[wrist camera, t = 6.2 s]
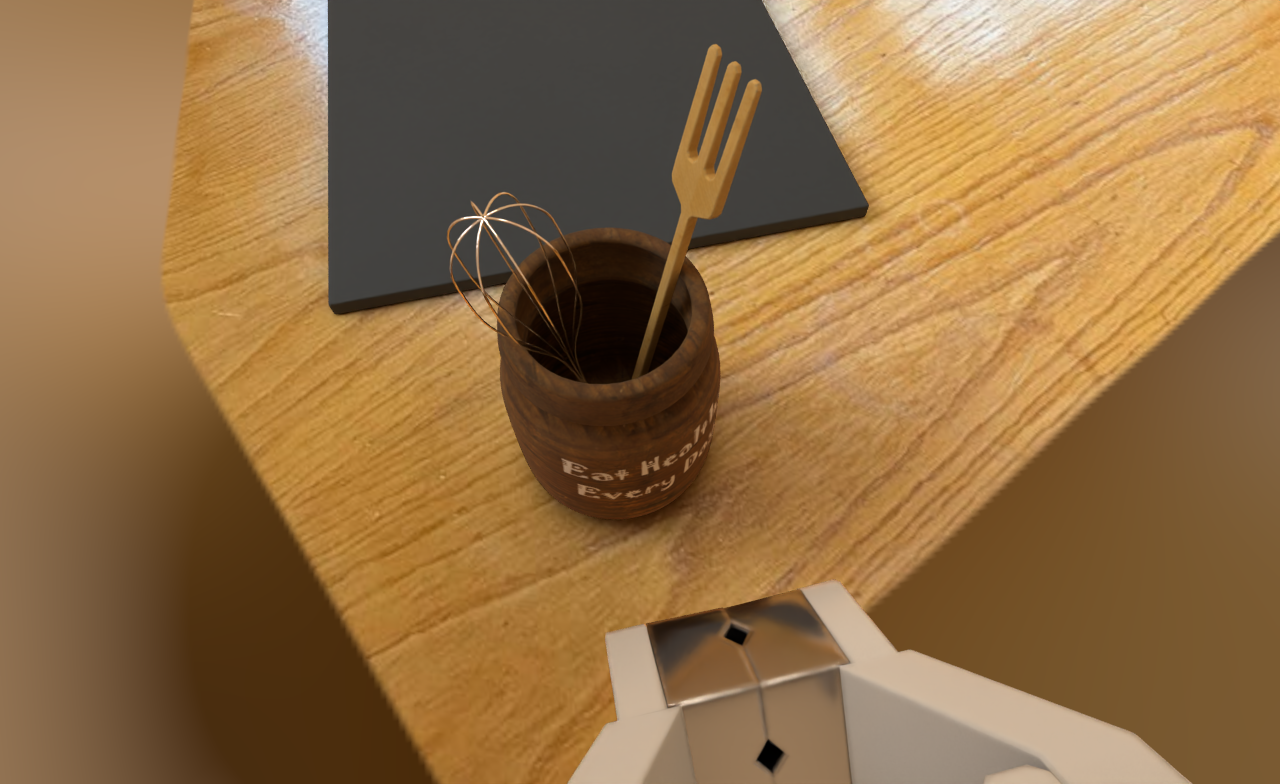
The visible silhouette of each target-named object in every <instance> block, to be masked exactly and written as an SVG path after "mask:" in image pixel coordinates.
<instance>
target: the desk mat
mask: <svg viewBox="0 0 1280 784" xmlns="http://www.w3.org/2000/svg"><path fill="white" fill-rule="evenodd" d="M714 44H717V45H718V46H719V47H720V48H721V51H722V57H721V61H720V65H719V69H718V72H717V76H716V80H715V84H714V87H713V91H712V95H711V99H710V102H709V106H708V110H707V114H706V117H705V121H704V125H703V129H702V132H701V136H700V140H699V144H698V147H697V152H698V156H699V153H700V150H701V147H702V144H703V141H704V137H705V134H706V131H707V128H708V125H709V122H710V119H711V116H712V113H713V110H714V107H715V103H716V100H717V97H718V94H719V91H720V88H721V85H722V82H723V79H724V76H725V73H726V70H727V66H728V65H729V64H730V63H731V62H734V61H736V62H737V63H739V64H740V65H741V71H742V73H741V76H740V80H739V83H738V86H737V90H736V93H735V97H734V100H733V103H732V107H731V110H730V114H729V117H728V120H727V124H726V127H725V130H724V134H723V137H722V141H721V144H720V147H719V151H718V154H717V158H716V161H715V164H714V170H715V174H716V172H717V169H718V166H719V163H720V160H721V158H722V155H723V152H724V149H725V146H726V144H727V141H728V138H729V135H730V132H731V129H732V127H733V124H734V121H735V118H736V115H737V112H738V110H739V107H740V104H741V101H742V98H743V95H744V93H745V90H746V87H747V84H748V82H750V81H751V80H754V79H756V80H758V81H759V82H760V83H761V87H762V92H761V95H760V98H759V101H758V104H757V107H756V110H755V113H754V117H753V120H752V123H751V126H750V129H749V132H748V135H747V138H746V141H745V144H744V147H743V150H742V153H741V156H740V159H739V162H738V166H737V169H736V172H735V175H734V178H733V181H732V184H731V187H730V190H729V193H728V196H727V199H726V202H725V205H724V208H723V210H722V213H721V214H720V215H719V216H718V217H716V218H713V219H710V220H708V219H702V218H697V222H696V225H695V228H694V231H693V234H692V237H691V240H690V243H689V246H688V249H690V248H696V247H701V246H707V245H712V244H717V243H723V242H728V241H734V240H739V239H744V238H750V237H755V236H761V235H766V234H771V233H777V232H782V231H788V230H793V229H798V228H804V227H809V226H814V225H820V224H825V223H831V222H836V221H841V220H847V219H852V218H858V217H863V216H865V215H866V213H867V210H868V207H869V205H868V203H867V201H866V199H865V197H864V195H863V193H862V191H861V189H860V187H859V185H858V184H857V182H856V180H855V178H854V176H853V174H852V172H851V170H850V168H849V166H848V164H847V163H846V161H845V159H844V157H843V155H842V153H841V151H840V149H839V147H838V145H837V143H836V142H835V140H834V138H833V136H832V134H831V132H830V130H829V128H828V126H827V124H826V122H825V121H824V119H823V117H822V115H821V113H820V111H819V109H818V107H817V105H816V103H815V101H814V100H813V98H812V96H811V94H810V92H809V90H808V88H807V86H806V84H805V82H804V80H803V79H802V77H801V75H800V73H799V71H798V69H797V67H796V65H795V63H794V61H793V59H792V58H791V56H790V54H789V52H788V50H787V48H786V46H785V44H784V42H783V40H782V38H781V37H780V35H779V33H778V31H777V29H776V27H775V25H774V23H773V21H772V19H771V17H770V16H769V14H768V12H767V10H766V8H765V6H764V4H763V2H762V0H328V261H329V306H330V308H331V309H332V311H333V312H334V314H340V313H345V312H351V311H356V310H361V309H367V308H372V307H378V306H383V305H388V304H394V303H399V302H405V301H410V300H415V299H421V298H426V297H431V296H437V295H442V294H448V293H453V292H458V290H457V288H456V287H455V285H454V283H453V281H452V278H451V274H450V259H451V254H452V249H451V247H450V245H449V243H448V239H447V231H448V228H449V226H450V225H451V224H452V223H453V222H454V221H456V220H457V219H460V218H464V217H470V216H477V214H476V212H475V211H474V209H473V207H472V205H471V203H470V201H473V202H474V203H475V205H476V206H477V207H478V208H479V210H480V211H481V213H482V214H484V212H485V209H486V207H487V205H488V203H489V202H490V200H491V199H492V198H493V197H494V196H495V195H496V194H498V193H500V192H507V193H510V194H512V195H513V196H515V197H516V198H517V199H518V201H519V202H520V203H521V204H531V205H534V206H537V207H539V208H541V209H543V210H545V211H546V212H548V213H549V214H550V215H551V216H552V218H553V219H554V221H555V222H556V224H557V225H558V227H559V229H560V231H561V233H562V235H563V236H564V235H567V234H570V233H573V232H577V231H581V230H586V229H593V228H622V229H629V230H635V231H639V232H643V233H646V234H649V235H652V236H654V237H657V238H659V239H661V240H663V241H665V242H667V243H668V244H670V245H672V242H673V238H674V235H675V232H676V228H677V225H678V221H679V218H680V215H681V203H680V201H679V198H678V195H677V193H676V190H675V187H674V185H673V182H672V171H673V167H674V164H675V160H676V157H677V153H678V150H679V146H680V143H681V140H682V136H683V133H684V130H685V126H686V123H687V120H688V116H689V113H690V109H691V106H692V103H693V99H694V96H695V93H696V89H697V86H698V82H699V79H700V76H701V72H702V69H703V66H704V62H705V59H706V56H707V52H708V49H709V47H710V46H712V45H714ZM511 204H518V203H517V202H516V201H515V199H513V198H512V197H511V196H509V195H505V194H504V195H500V196H498V197H496V198H495V199H494V201H493V202H492V203H491V205H490V207H489V209H488V211H487V214H488V213H490V212H492V211H494V210H496V209H498V208H500V207H504V206H507V205H511ZM522 207H523V208H524V210H525V212H526V213H527V215H528V217H529V219H530V221H531V222H532V224H533V226H534V228H535V230H536V232H537V234H538V235H540V236H541V237H542V238H544V239H545V240H546V241H547V242H550V241H552V240H554V239H556V238H559V237H561V236H560V234H559V232H558V230H557V228H556V226H555V225H554V223H553V222H552V220H551V219H550V218H549V217H548V215H546V214H545V213H544V212H542V211H540V210H538V209H535V208H532V207H527V206H522ZM479 215H480V214H479ZM480 216H481V215H480ZM488 217H494V218H500V219H504V220H508V221H511V222H514V223H517V224H519V225H522V226H524V227H526V228H528V229H530V230H532V231H533V232H534V230H533V229H532V227H531V225H530V223H529V221H528V220H527V218H526V216H525V214H524V213H523V211H522V209H521V208H520V206H514V207H509V208H506V209H503V210H500V211H498V212H496V213H493V214H492V215H490V216H488ZM477 220H479V219H466V220H462V221H459V222H457V223H456V224H454V225H453V226H452V228H451V230H450V234H449V235H450V242H451V244H452V246H453V248H454V246H455V244H456V243H457V241H458V239H459V238H460V237H461V235H462V234H463V233H464V232H465V231H466V230H467V228H469V227H470V226H471V225H472V224H473V223H474V222H476V221H477ZM486 220H487V221H488V222H489V224H490V225H491V227H492V228H493V230H494V231H495V232H496V234H497V235H498V237H499V238H500V240H501V241H502V243H503V244H504V246H505V247H506V249H507V250H508V252H509V253H510V255H511V256H512V258H513V259H514V261H515V262H516V264H517V265H518V266H519V265H520V264H521V263H522V261H523V260H524V259H526V258H527V257H528V256H529V255H530V254H531V253H533V252H534V251H535V250H537V249H538V248H540V247H541V245H540V243H539V240H538V238H537V236H535V235H534V234H532V233H530V232H528V231H526V230H524V229H522V228H520V227H518V226H515V225H512V224H509V223H506V222H502V221H497V220H490V219H486ZM480 223H481V221H480V222H479V223H478V224H476V225H475V226H474V227H473V228H471V229H470V230H469V231H468V232H467V233H466V234H465V236H464V237H463V238H462V240H461V241H460V243H459V244H458V246H457V248H456V250H455V251H456V253H457V254H458V256H459V258H460V259H461V261H462V262H463V264H464V265H465V267H466V268H467V270H468V271H469V272H470V274H471V275H472V277H473V278H474V279H475V281H476V282H477V283H478V284H479V285H480V283H479V278H478V273H477V264H476V245H477V237H478V231H479V227H480ZM484 223H485V225H486V226H487V228H488V229H489V231H490V233H491V234H492V236H493V238H494V239H495V241H496V243H497V244H498V246H499V247H500V249H501V251H502V252H503V254H504V255H505V257H506V259H507V260H508V262H509V263H510V265H511V267H512V268H513V270H514V271H515V269H516V267H515V265H514V264H513V262H512V261H511V259H510V258H509V256H508V255H507V253H506V252H505V250H504V249H503V247H502V246H501V244H500V243H499V241H498V240H497V238H496V237H495V235H494V234H493V232H492V231H491V230H490V228H489V227H488V225H487V224H486V222H485V221H484ZM540 240H541V239H540ZM541 242H542V244H543V245H545V244H546V243H545V242H544V241H542V240H541ZM479 269H480V275H481V280H482V284H483V287H485V286H491V285H496V284H502V283H507V281H508V280H509V278H510V276H511V275H512V273H513V272H512V270H511V269H510V267H509V266H508V264H507V262H506V261H505V259H504V258H503V256H502V255H501V253H500V251H499V250H498V248H497V247H496V245H495V243H494V242H493V240H492V238H491V237H490V235H489V234H488V232H487V230H486V229H485V227H484V226H482V230H481V234H480V241H479ZM452 272H453V277H454V280H455V282H456V283H457V285H458V287H459V289H460V290H461V291H464V290H469V289H475V288H479V287H478V286H477V285H476V284H475V283H474V281H473V280H472V279H471V277H470V276H469V275H468V273H467V272H466V270H465V269H464V268H463V266H462V265H461V263H460V262H459V260H458V259H457V257H456V256H455V254H454V257H453V263H452Z"/></svg>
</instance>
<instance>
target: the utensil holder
mask: <svg viewBox="0 0 1280 784" xmlns="http://www.w3.org/2000/svg"><path fill="white" fill-rule="evenodd" d="M721 57H722V51H721V48H720V47H719V46H718V45H717V44H714V45H712V46H710V47H709V49H708V52H707V56H706V59H705V62H704V66H703V69H702V72H701V76H700V79H699V82H698V86H697V89H696V93H695V96H694V99H693V103H692V106H691V109H690V113H689V116H688V120H687V123H686V126H685V130H684V133H683V136H682V140H681V143H680V146H679V150H678V153H677V157H676V160H675V164H674V167H673V171H672V182H673V185H674V187H675V190H676V193H677V195H678V198H679V201H680V203H681V215H680V218H679V221H678V225H677V228H676V232H675V235H674V238H673V242H672V245H670V244H668V243H667V242H665V241H663V240H661V239H659V238H657V237H654V236H652V235H649V234H646V233H643V232H639V231H635V230H629V229H622V228H593V229H586V230H581V231H577V232H573V233H570V234H567V235H564V236H563V235H562V233H561V231H560V229H559V227H558V225H557V224H556V222H555V221H554V219H553V218H552V216H551V215H550V214H549V213H548V212H546V211H545V210H543V209H541V208H539V207H537V206H534V205H531V204H521V203H520V202H519V201H518V199H517V198H516V197H515V196H513V195H512V194H510V193H507V192H500V193H498V194H496V195H495V196H494V197H493V198H492V199H491V200H490V202H489V203H488V205H487V207H486V209H485V212H484V214H482V213H481V211H480V210H479V208H478V207H477V206H476V205H475V203H474V202H473V201H470V203H471V205H472V207H473V209H474V211H475V212H476V214H477V216H470V217H464V218H460V219H457V220H456V221H454V222H453V223H452V224H451V225H450V226H449V228H448V231H447V239H448V243H449V245H450V247H451V249H452V254H451V259H450V274H451V278H452V281H453V283H454V285H455V287H456V288H457V290H458V291H459V293H460V294H461V296H462V297H463V299H464V300H465V302H466V303H467V304H468V306H469V307H470V309H471V310H472V311H473V312H474V314H475V315H476V316H477V317H478V318H479V319H480V320H481V321H482V322H483V323H484V324H485V325H487V326H488V327H489V328H491V329H492V330H494V331H495V332H497V333H498V345H499V351H500V355H501V363H500V381H501V389H502V394H503V399H504V403H505V407H506V410H507V413H508V416H509V419H510V422H511V424H512V427H513V430H514V432H515V435H516V437H517V440H518V442H519V445H520V447H521V450H522V452H523V454H524V457H525V459H526V461H527V463H528V465H529V467H530V469H531V471H532V472H533V474H534V475H535V477H536V478H537V480H538V481H539V482H540V484H541V485H542V486H543V487H544V489H545V490H546V491H547V492H548V493H549V494H550V495H551V496H553V497H554V498H555V499H556V500H558V501H559V502H560V503H562V504H563V505H565V506H567V507H568V508H570V509H572V510H574V511H577V512H579V513H582V514H584V515H588V516H591V517H596V518H602V519H629V518H635V517H639V516H643V515H646V514H649V513H652V512H654V511H657V510H659V509H661V508H663V507H665V506H666V505H668V504H669V503H671V502H672V501H674V500H675V499H676V498H678V497H679V496H680V495H681V494H682V493H683V492H684V491H685V490H686V489H687V488H688V487H689V486H690V485H691V483H692V482H693V481H694V479H695V478H696V477H697V475H698V473H699V472H700V470H701V468H702V466H703V464H704V462H705V459H706V457H707V454H708V451H709V447H710V444H711V440H712V435H713V429H714V423H715V417H716V411H717V404H718V397H719V387H720V360H719V353H718V348H717V344H716V340H715V337H714V321H713V314H712V308H711V303H710V299H709V294H708V291H707V288H706V285H705V283H704V281H703V279H702V277H701V275H700V273H699V272H698V270H697V269H696V268H695V266H694V265H693V264H692V263H691V261H690V260H689V259H688V258H687V257H686V253H687V249H688V246H689V243H690V240H691V237H692V234H693V231H694V228H695V225H696V222H697V218H702V219H708V220H710V219H713V218H716V217H718V216H719V215H720V214H721V213H722V210H723V208H724V205H725V202H726V199H727V196H728V193H729V190H730V187H731V184H732V181H733V178H734V175H735V172H736V169H737V166H738V162H739V159H740V156H741V153H742V150H743V147H744V144H745V141H746V138H747V135H748V132H749V129H750V126H751V123H752V120H753V117H754V113H755V110H756V107H757V104H758V101H759V98H760V95H761V92H762V87H761V83H760V82H759V81H758V80H756V79H754V80H751V81H750V82H748V84H747V87H746V90H745V93H744V95H743V98H742V101H741V104H740V107H739V110H738V112H737V115H736V118H735V121H734V124H733V127H732V129H731V132H730V135H729V138H728V141H727V144H726V146H725V149H724V152H723V155H722V158H721V160H720V163H719V166H718V169H717V172H716V174H715V170H714V164H715V161H716V158H717V154H718V151H719V147H720V144H721V141H722V137H723V134H724V130H725V127H726V124H727V120H728V117H729V114H730V110H731V107H732V103H733V100H734V97H735V93H736V90H737V86H738V83H739V80H740V76H741V73H742V71H741V65H740V64H739V63H737V62H736V61H734V62H731V63H730V64H729V65H728V66H727V70H726V73H725V76H724V79H723V82H722V85H721V88H720V91H719V94H718V97H717V100H716V103H715V107H714V110H713V113H712V116H711V119H710V122H709V125H708V128H707V131H706V134H705V137H704V141H703V144H702V147H701V150H700V153H699V156H698V152H697V147H698V144H699V140H700V136H701V132H702V129H703V125H704V121H705V117H706V114H707V110H708V106H709V102H710V99H711V95H712V91H713V87H714V84H715V80H716V76H717V72H718V69H719V65H720V61H721ZM504 194H505V195H509V196H511V197H512V198H513V199H515V201H516V202H517V203H518V204H511V205H507V206H504V207H500V208H498V209H496V210H494V211H492V212H490V213H488V214H487V211H488V209H489V207H490V205H491V203H492V202H493V201H494V199H495V198H496V197H498V196H500V195H504ZM514 206H520V208H521V209H522V211H523V213H524V214H525V216H526V218H527V220H528V221H529V223H530V225H531V227H532V229H533V230H534V232H533V231H532V230H530V229H528V228H526V227H524V226H522V225H519V224H517V223H514V222H511V221H508V220H504V219H500V218H494V217H488V216H490V215H492V214H493V213H496V212H498V211H500V210H503V209H506V208H509V207H514ZM522 206H527V207H532V208H535V209H538V210H540V211H542V212H544V213H545V214H546V215H548V217H549V218H550V219H551V220H552V222H553V223H554V225H555V226H556V228H557V230H558V232H559V234H560V236H561V237H559V238H556V239H554V240H552V241H550V242H547V241H546V240H545V239H544V238H542V237H541V236H540V235H538V234H537V232H536V230H535V228H534V226H533V224H532V222H531V221H530V219H529V217H528V215H527V213H526V212H525V210H524V208H523V207H522ZM479 214H480V215H481V216H480V215H479ZM466 219H479V220H477V221H476V222H474V223H473V224H472V225H471V226H470V227H469V228H467V230H466V231H465V232H464V233H463V234H462V235H461V237H460V238H459V239H458V241H457V243H456V244H455V246H454V248H453V246H452V244H451V242H450V235H449V234H450V230H451V228H452V226H453V225H454V224H456V223H457V222H459V221H462V220H466ZM486 219H490V220H497V221H502V222H506V223H509V224H512V225H515V226H518V227H520V228H522V229H524V230H526V231H528V232H530V233H532V234H534V235H535V236H537V238H538V240H539V243H540V245H541V247H540V248H538V249H537V250H535V251H534V252H533V253H531V254H530V255H529V256H528V257H527V258H526V259H524V260H523V261H522V263H521V264H520V265H519V266H518V265H517V264H516V262H515V261H514V259H513V258H512V256H511V255H510V253H509V252H508V250H507V249H506V247H505V246H504V244H503V243H502V241H501V240H500V238H499V237H498V235H497V234H496V232H495V231H494V230H493V228H492V227H491V225H490V224H489V222H488V221H487V220H486ZM480 221H481V223H480V227H479V231H478V237H477V245H476V264H477V273H478V278H479V283H480V285H479V284H478V283H477V282H476V281H475V279H474V278H473V277H472V275H471V274H470V272H469V271H468V270H467V268H466V267H465V265H464V264H463V262H462V261H461V259H460V258H459V256H458V254H457V253H456V251H455V250H456V248H457V246H458V244H459V243H460V241H461V240H462V238H463V237H464V236H465V234H466V233H467V232H468V231H469V230H470V229H471V228H473V227H474V226H475V225H476V224H478V223H479V222H480ZM484 221H485V222H486V224H487V225H488V227H489V228H490V230H491V231H492V232H493V234H494V235H495V237H496V238H497V240H498V241H499V243H500V244H501V246H502V247H503V249H504V250H505V252H506V253H507V255H508V256H509V258H510V259H511V261H512V262H513V264H514V265H515V267H516V269H515V271H514V270H513V268H512V267H511V265H510V263H509V262H508V260H507V259H506V257H505V255H504V254H503V252H502V251H501V249H500V247H499V246H498V244H497V243H496V241H495V239H494V238H493V236H492V234H491V233H490V231H489V229H488V228H487V226H486V225H485V223H484ZM482 226H484V227H485V229H486V230H487V232H488V234H489V235H490V237H491V238H492V240H493V242H494V243H495V245H496V247H497V248H498V250H499V251H500V253H501V255H502V256H503V258H504V259H505V261H506V262H507V264H508V266H509V267H510V269H511V270H512V272H513V273H512V275H511V276H510V278H509V280H508V281H507V283H506V285H505V287H504V289H503V292H502V295H501V298H500V302H499V304H498V303H497V302H496V301H495V300H494V299H492V298H491V297H490V296H489V295H488V294H487V293H486V292H485V291H484V288H483V284H482V280H481V275H480V269H479V241H480V234H481V230H482ZM540 239H541V240H542V241H544V242H545V243H546V244H545V245H543V244H542V242H541V240H540ZM454 254H455V256H456V257H457V259H458V260H459V262H460V263H461V265H462V266H463V268H464V269H465V270H466V272H467V273H468V275H469V276H470V277H471V279H472V280H473V281H474V283H475V284H476V285H477V286H478V287H479V289H480V290H481V291H482V293H483V295H484V298H485V300H486V302H487V303H488V305H489V307H490V308H491V310H492V311H493V313H494V314H495V316H496V317H497V330H496V329H495V328H493V327H491V326H490V325H489V324H487V323H486V322H485V321H484V320H483V319H482V318H481V317H480V316H479V315H478V314H477V313H476V311H475V310H474V309H473V308H472V306H471V305H470V303H469V302H468V301H467V299H466V298H465V296H464V295H463V293H462V292H461V290H460V289H459V287H458V285H457V283H456V282H455V280H454V277H453V272H452V263H453V257H454ZM487 297H488V298H489V299H491V300H492V301H493V302H494V303H495V304H496V305H497V306H499V307H498V315H497V313H496V312H495V310H494V309H493V307H492V305H491V304H490V302H489V300H488V298H487Z"/></svg>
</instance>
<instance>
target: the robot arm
mask: <svg viewBox="0 0 1280 784" xmlns="http://www.w3.org/2000/svg"><path fill="white" fill-rule="evenodd" d="M605 642H606V648H607V655H608V661H609V668H610V674H611V681H612V687H613V694H614V701H615V707H616V714H617V720H618V721H615V722H611V723H607V724H605V725H604V727H603V729H602V730H601V732H600V733H599V735H598V736H597V738H596V739H595V741H594V743H593V744H592V746H591V747H590V749H589V750H588V752H587V753H586V755H585V756H584V758H583V760H582V761H581V763H580V764H579V766H578V767H577V769H576V770H575V772H574V773H573V775H572V777H571V778H570V780H569V781H568V783H567V784H1192V783H1190V781H1188V780H1187V779H1186V778H1185V777H1184V776H1183V775H1182V774H1180V773H1179V772H1178V771H1177V770H1176V769H1175V768H1174V767H1172V766H1171V765H1170V764H1169V763H1168V762H1167V761H1166V760H1165V759H1163V758H1162V757H1161V756H1160V755H1159V754H1158V753H1157V752H1155V751H1154V750H1153V749H1152V748H1151V747H1150V746H1149V745H1147V744H1146V743H1145V742H1144V741H1143V740H1142V739H1141V738H1139V737H1138V736H1137V735H1136V734H1135V733H1132V732H1130V731H1127V730H1124V729H1122V728H1119V727H1116V726H1114V725H1111V724H1108V723H1106V722H1103V721H1100V720H1097V719H1095V718H1092V717H1090V716H1087V715H1084V714H1082V713H1079V712H1076V711H1073V710H1071V709H1068V708H1065V707H1063V706H1060V705H1057V704H1055V703H1052V702H1049V701H1047V700H1044V699H1041V698H1039V697H1036V696H1033V695H1030V694H1028V693H1025V692H1022V691H1020V690H1017V689H1015V688H1012V687H1009V686H1006V685H1004V684H1001V683H999V682H996V681H993V680H990V679H988V678H985V677H982V676H980V675H977V674H974V673H972V672H969V671H966V670H964V669H961V668H958V667H956V666H953V665H950V664H948V663H945V662H942V661H939V660H937V659H934V658H932V657H929V656H926V655H924V654H921V653H918V652H916V651H913V650H906V651H902V652H898V651H897V650H896V649H895V648H894V647H893V645H892V644H891V643H890V641H889V640H888V639H887V638H886V637H885V635H884V634H883V633H882V632H881V631H880V629H879V628H878V627H877V626H876V624H875V623H874V622H873V621H872V620H871V618H870V617H869V616H868V615H867V614H866V612H865V611H864V610H863V609H862V608H861V606H860V605H859V604H858V603H857V602H856V600H855V599H854V598H853V597H852V595H851V594H850V593H849V592H848V591H847V589H846V588H845V587H844V586H843V585H842V583H841V582H840V581H837V580H834V579H832V580H829V581H825V582H821V583H818V584H814V585H810V586H807V587H803V588H799V589H797V590H794V591H790V592H786V593H782V594H778V595H774V596H770V597H766V598H762V599H759V600H755V601H751V602H747V603H743V604H739V605H735V606H731V607H727V608H718V609H713V610H708V611H703V612H699V613H694V614H689V615H684V616H680V617H675V618H670V619H665V620H661V621H656V622H651V623H646V626H645V625H644V624H641V625H636V626H632V627H628V628H624V629H620V630H616V631H612V632H607V633H606V636H605Z"/></svg>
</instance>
